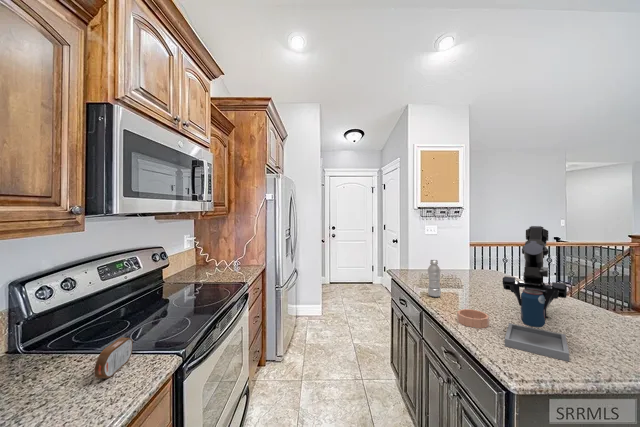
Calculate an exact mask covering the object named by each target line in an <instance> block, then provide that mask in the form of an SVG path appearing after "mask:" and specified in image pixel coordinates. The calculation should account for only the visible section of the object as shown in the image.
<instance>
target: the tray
mask: <svg viewBox="0 0 640 427" xmlns="http://www.w3.org/2000/svg"><path fill="white" fill-rule="evenodd" d="M505 332H506V334H505V337H504V347H508V348H510V349H511V348H513V349H516V350H520V351H525V352H528V353H532V354H537V355H540V356H545V357H549V358H552V359H553V358H554V359H557V360H561V361H564V362H570V350H569V347H568V341H567V337H566V334H565V333H560V332H556V331H551V330H546V329H541V328H535V327H530V326H527V325H525V326H524V325H521V324H516V323H511V322H508V325H507V329H506V331H505Z"/></svg>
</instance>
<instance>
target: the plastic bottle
mask: <svg viewBox="0 0 640 427" xmlns="http://www.w3.org/2000/svg"><path fill="white" fill-rule="evenodd" d="M429 263H430V265H429V266H428V268H427V274H428V275H427V276H428V289H427V293H428V296H430V297H432V298H438V297H439V298H440V296H441V295H442V290H441V284H440V280H441V279H440V278H441V277H440V276H441V268H440V266H439V265H438V264H439V263H438V260H437V259H430V262H429Z"/></svg>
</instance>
